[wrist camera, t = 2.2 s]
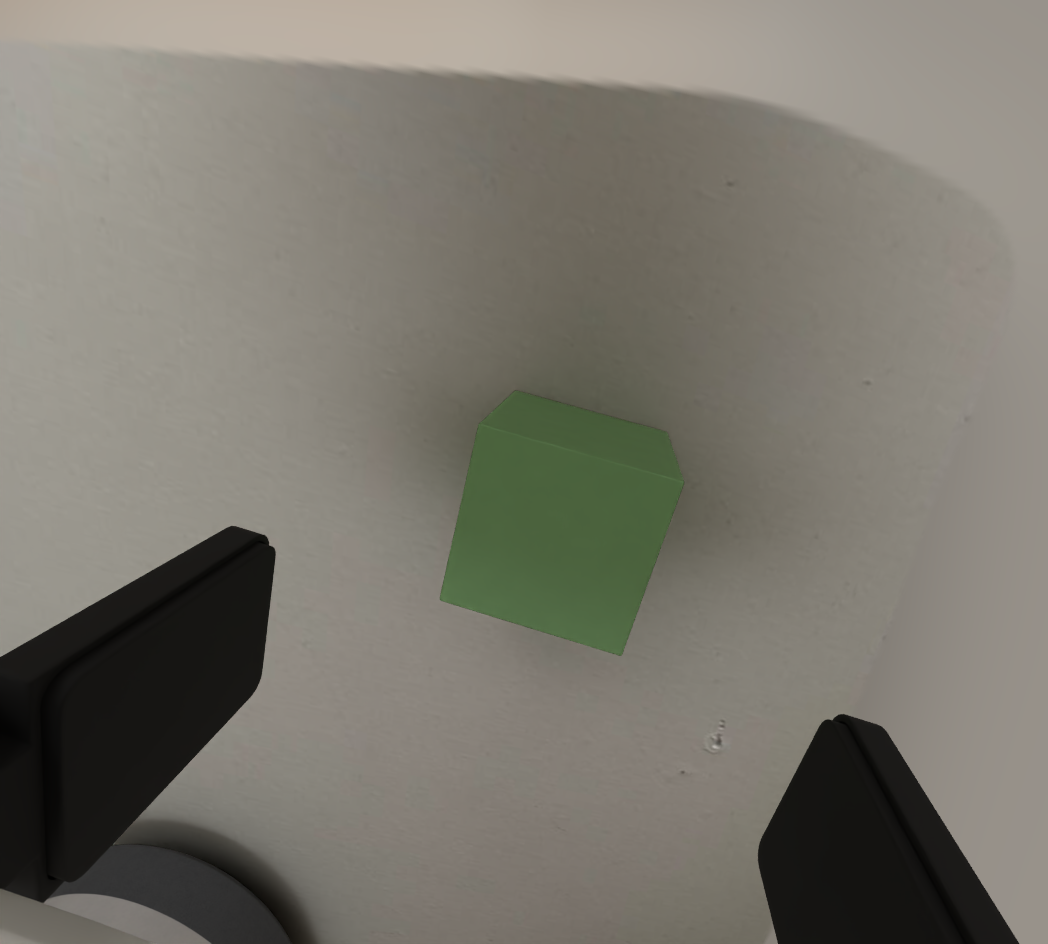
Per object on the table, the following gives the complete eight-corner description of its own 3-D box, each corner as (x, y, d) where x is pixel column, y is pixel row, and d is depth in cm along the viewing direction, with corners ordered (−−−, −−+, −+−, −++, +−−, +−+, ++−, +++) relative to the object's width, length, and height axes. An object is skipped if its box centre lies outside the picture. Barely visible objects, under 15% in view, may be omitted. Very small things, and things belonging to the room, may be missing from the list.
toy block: (515, 389, 18) (478, 423, 13) (667, 432, 18) (685, 481, 13) (481, 527, 20) (438, 600, 15) (620, 568, 19) (621, 657, 15)
